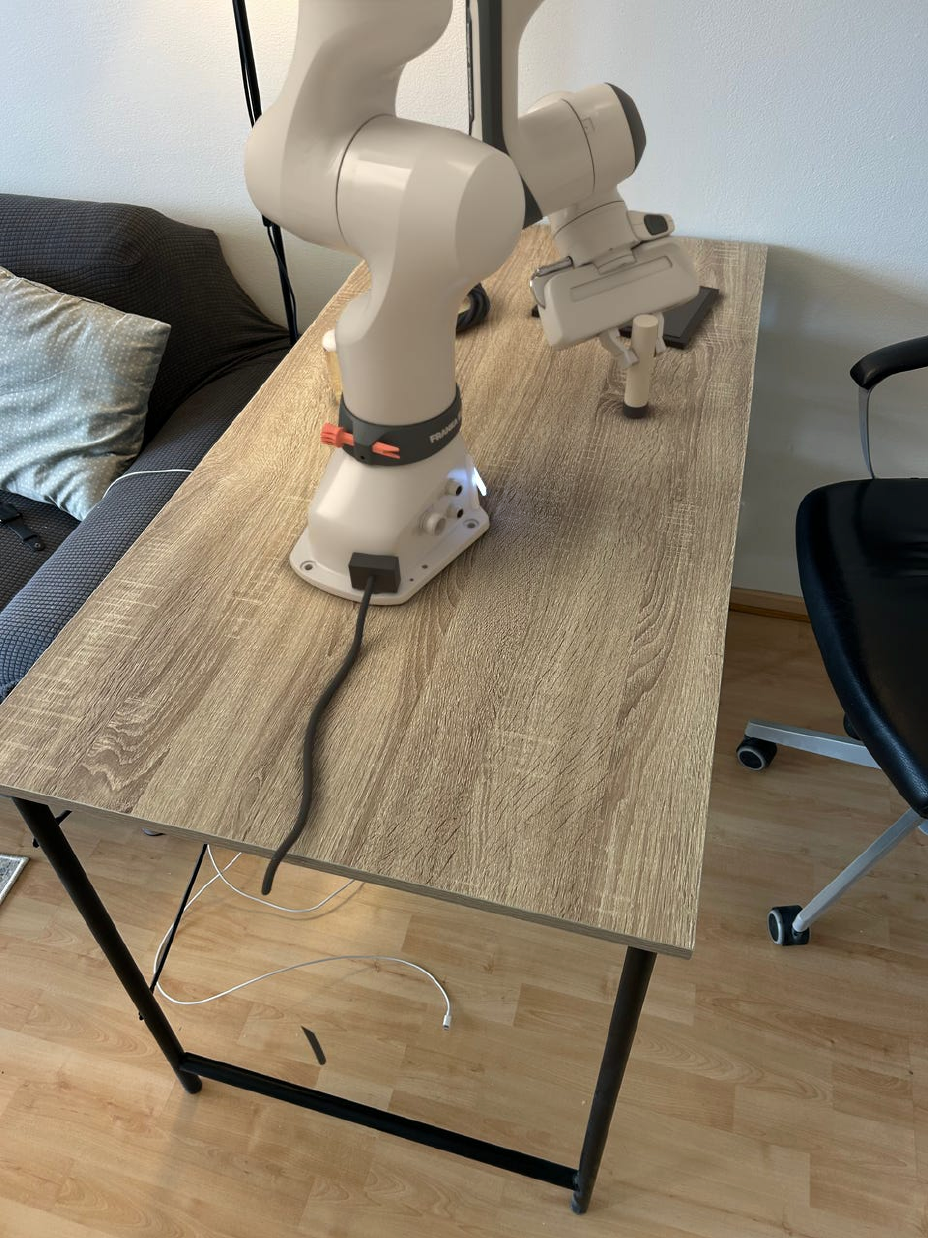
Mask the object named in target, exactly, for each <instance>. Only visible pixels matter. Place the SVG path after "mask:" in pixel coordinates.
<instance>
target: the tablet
mask: <svg viewBox="0 0 928 1238" xmlns="http://www.w3.org/2000/svg"><path fill="white" fill-rule="evenodd" d="M719 295H720V288H714V287H709V286H704V285H700V288H699V293H698V295H697V296H696V297H695V298H693V299H692V300H690V301H689V302H687V303H685V304H683V305H681V306H678V307H676V308H673V309H671V310H668V311H665V312H663V313H662V315H663V318H664V328H663V336H662V338H663V341H664V344H665V346H666V347H669V348H673V349H678V350H685V348H686V347H687V345H688V344H689V342H690V340H691V339H692V337H693V336H694V335H695V333H696V331H697V330H698V328H699V327H700V325H701V323H702V322H703V321H704V319H705V318H706V316H707V314H708V313H709V311H710V309H711V308H712V306H713V305H714V304H715V301H716V300H717V299H718V297H719ZM531 316H532V317H535V318H539V319H541V318H540V314H539V310H538V305H537V303H535V305H534V306H533V307H532V308H531ZM632 327H633V324H631V325H628V326H625V327H623V328H620V329H618V331H619V333H620V336H619V337H624V338H628V339H629V338H630V339H631V336H632Z"/></svg>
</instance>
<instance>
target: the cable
mask: <svg viewBox="0 0 928 1238" xmlns="http://www.w3.org/2000/svg"><path fill="white" fill-rule="evenodd" d="M466 298H468V299H469V302H470V304H469V305H470V306H469V308H468V309H465V310H464V311H461V312H459V314H458V318H457V323H456V332H458V331H460V330H464V329H467V328H469V327H471V326H473V325H475V324H477V323H480V322H483V320H485V319H486V317H487V316H488V315H489V312H490V310H491V301H490V297H489V296H488V293H487V292H486V289H485V288H484V287H483V285H482V281H481V282H480V283H478V284H477V285H476V286H474V287H473V288H472V289H471V290H470V292H469V293H468V294H467V296H466Z"/></svg>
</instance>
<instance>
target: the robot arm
mask: <svg viewBox="0 0 928 1238" xmlns="http://www.w3.org/2000/svg"><path fill="white" fill-rule="evenodd" d="M464 1H465V3H464V5H465V43H466V44H465V45H466V72H467V75H466V77H467V101H468V102H467V103H468V107H467V108H468V133H465V132H464V131H462V130H459V129H455V128H449V127H445V126H441V125H436V124H431V123H427V122H423V121H417V120H413V119H408V118H404V117H398V115H397V110H396V104H397V96H398V95H397V94H398V89H399V85H400V84H399V83H400V80H401V78H402V74H403V72H404V70H405V68H406V66H407V64H408V63H409V62H412V61H413V60H415V59H417V58H418V57H421V56H422V55H423V54H425V53H427V52H428V51H429V50H430V49H431V48H433V47H434V46H435V45H436V44H437V42H438V41H439V40H440V39H441V38H442V37H443V36H444V33H445V32H446V30H447V28H448V25H449V24H450V21H451V17H452V15H453V10H454V0H298V15H297V27H296V36H295V41H294V47H293V52H292V55H291V60H290V64H289V68H288V71H287V74H286V78H285V80H284V83H283V85H282V87H281V90H280V92H279V93H278V95H277V97H276V99H275V100H274V101H273V103H272V104H271V105H270V106H268V108H267V109H266V110H265V111H264V112H263V113H262V114H261V115H260V116H259V117H258V118H257V120H256V121H255V123H254V125H253V126H252V129H251V130H250V133H249V135H248V138H247V142H246V144H245V148H244V157H243V158H244V159H243V174H244V179H245V185H246V188H247V192H248V195H249V197H250V199H251V201H252V203H253V205H254V206H255V208H256V209H257V211H258V212H259V213H260V214H261V215H262V216H263V217H265V218H266V219H268V220H269V221H271V222H272V223H274V224H275V225H276V226H278V227H280V228H281V229H283V230H285V231H286V232H288V233H290V234H292V235H294V236H295V237H297V238H299V239H300V240H302V241H304V242H307V243H310V244H314V245H316V246H320V247H324V248H326V249H331V250H334V251H336V252H340V253H344V254H347V255H351V256H354V257H358V258H359V259H361V260H363V261H364V263H365V264H366V266H367V268H368V271H369V273H370V288H369V289H367V290H365V291H362V292H361V293H360V294H358V295H356V296H355V297H354V298H352V299H351V300H350V301H349V302H348V303H347V304H346V305H345V307H344V308H343V310H342V311H341V313H340V315H339V316H338V318H337V321H336V324H335V328H334V329H335V343H336V350H337V356H338V363H339V369H340V376H341V383H342V389H343V391H342V394H341V399H340V404H339V407H338V410H337V416H338V421H337V425H335V424H333V423H329V422H327V423H325V424H324V425H323V426H322V428H321V431H320V435H319V436H320V442H321V443H323V444H324V445H329V446H334V447H335V448H334V449H333V452H332V454H331V456H330V458H329V460H328V463H327V464H326V467H325V469H324V471H323V474H322V476H321V479H320V481H319V483H318V485H317V487H316V491H315V493H314V495H313V497H312V499H311V502H310V504H309V507H308V510H307V525H306V526H305V528H304V529H303V531H302V533H301V535H300V537H299V538H298V540H297V542H296V543H295V545H294V546H293V548H292V549H291V552H290V554H289V556H288V559H289V565H290V566H291V567H290V568H291V569H292V570H293V571H294V573H295V574H297V575H298V577H300V578H301V579H302V580H303V581H305V582H306V583H308V584H309V585H311V586H313V587H315V588H316V589H319V590H322V591H323V592H325V593H329V594H331V595H334V596H336V597H340V598H343V599H345V600H349V601H352V602H356V603H360V604H359V605H360V606H359V609H358V613H357V617H356V623H355V631H354V637H353V641H352V644H351V647H350V649H349V652H348V654H347V656H346V659H345V661H344V662H343V664H342V666H341V667H340V669H339V671H338V672H337V674H336V675H335V677H334V678H333V679H332V680H331V681H330V683H329V685H328V686H327V688H326V689H325V690H324V691H323V692H322V695H321V696H320V698H319V699H318V701H317V703H316V704H315V706H314V709H313V710H312V713H311V715H310V718H309V721H308V723H307V726H306V730H305V735H304V740H303V752H302V753H303V754H302V770H303V771H302V773H303V775H302V777H303V779H302V780H303V781H302V782H303V783H302V794H301V795H302V796H301V802H300V807H299V811H298V813H297V814H298V815H297V817H296V821H295V823H294V824H293V827H292V828H291V831H290V832H289V834H288V835H287V836H286V837H285V839H284V840H283V842H281V844H280V845H279V847H278V848H277V849H276V851H275V852H274V854H273V855H272V857H271V859H270V861H269V863H268V864H267V867H266V869H265V872H264V875H263V880H262V884H261V889H260V892H261V895H262V896H268V895H269V894H270V892H271V891H272V889H273V883H274V880H275V876H276V873H277V871H278V868H279V866H280V864H281V862H282V861H283V859H284V858H285V857H286V855H287V853H288V852H289V851H290V850H291V848H292V847H293V846H294V844H295V843H296V842H297V840H298V839H299V837H300V835H301V834H302V832H303V830H304V828H305V826H306V823H307V820H308V818H309V813H310V809H311V805H312V797H313V785H314V783H313V781H314V780H313V779H314V778H313V775H314V774H313V773H314V772H313V747H314V739H315V734H316V730H317V727H318V724H319V720H320V718H321V715H322V714H323V711H324V710H325V707H326V705H328V702H329V701H330V699H331V698H332V696H333V695H334V693H335V692H336V690H337V689H338V687H339V686H340V685H341V683H342V682H343V681H344V679H345V678H346V677H347V675H348V673H349V671H350V670H351V668H352V667H353V664H354V663H355V660H356V658H357V656H358V653H359V651H360V648H361V645H362V641H363V637H364V631H365V622H366V618H367V614H368V609H369V606H370V605H373V606H374V605H375V606H393V605H395V606H396V605H401V604H404V603H405V602H407V601H409V600H410V599H411V598H412V597H413V596H415V595H416V594H417V593H418V592H419V591H420V590H422V588H423V587H424V586H425V585H427V584H428V583H429V582H431V580H432V579H433V578H435V577H436V576H437V575H438V574H439V573H440V572H441V571H442V570H444V569H445V568H446V567H447V566H448V565H450V563H451V562H453V561H454V560H455V559H456V558H457V557H458V556H460V555H461V554H462V553H463V552H464V551H465V550H466V549H467V548H469V547H470V546H471V545H472V544H473V543H474V542H475V541H477V540H478V539H479V538H480V537H481V536H482V535H483V534H484V533H486V532H487V531H488V530H489V528H490V525H491V524H490V518H489V515H488V514H487V512H486V511H485V509H484V508H483V507H482V506H481V505H480V500H479V492H478V491H480V492H481V494H482V496H486V495H487V487H486V486H485V484H484V482H483V480H482V478H481V477H480V475H479V473H478V470H477V469H476V468H475V462H474V458H473V455H472V453H471V451H470V449H469V447H468V445H467V444H466V443H467V442H466V441H465V438H464V435H463V433H462V430H461V428H462V425H463V409H464V408H463V398H462V397H461V389H460V386H459V383H458V382H457V381H456V336H457V335H456V332H457V331H456V323H457V318H458V314H459V313H460V310H461V307H462V305H463V303H464V301H465V299H466V298H467V294H468V293H469V292H470V290H471V289H472V288H473V287H474V286H476V285H477V284H478V283H480V282H481V283H482V282H483V281H485V280H487V279H489V278H490V277H492V276H493V275H495V274H496V273H497V272H498V271H499V270H500V269H501V268H502V267H503V266H504V265H505V264H506V263H507V262H508V260H509V259H510V257H511V255H512V254H513V252H515V249H516V247H517V245H518V243H519V241H520V238H521V235H522V232H523V230H525V229H527V228H530V227H532V226H533V225H535V224H536V223H538V222H540V221H542V220H544V218H546V217H547V220H548V222H549V225H550V233H551V238H552V241H553V243H554V245H555V246H554V247H555V248H556V251H557V253H558V256H559V259H558V260H556V261H553V262H552V263H549V264H542V265H541V266H538V267H536V268H535V269H534V272H533V273H532V275H531V276H530V278H529V283H528V286H529V291H530V293H531V296H532V298H533V300H534V302H535V304H537V305H538V310H539V314H540V318H539V319H540V322H541V325H542V328H543V329H542V330H543V332H544V335H545V338H546V340H547V343H548V345H549V347H551V348H553V349H554V350H556V351H557V352H561V351H564V350H567V349H570V348H572V347H575V346H577V345H580V344H583V343H586V342H589V341H591V340H594V339H597V338H598V341H599V342H600V345H601V347H602V348H603V349H605V350H606V351H608V353H610V354H611V355H612V356H613V357H615V358H616V361H617V363H618V365H619V368H620V369H621V370H622V371H625V370H628V368H630V367H632V366H634V365H636V364H638V357H637V356H636V352H635V350H634V348H632V349H630V348H629V349H628V348H627V346H625V344H623V343H622V341H620V339H618V338H620V337H621V336H620V333H619V331H618V329H620V328H623V327H625V326H628V325H631V324H633V320H634V318H635V317H636V316H639V315H652V316H654V317H656V318H657V319H658V321H659V323H658V330H657V337H656V345H655V352H654V359H655V358H657V357H660V356H663V355H664V354H665V353H667V346H665V344H664V341H663V338H662V336H663V328H664V318H663V315H662V313H663V312H665V311H668V310H671V309H673V308H676V307H678V306H681V305H683V304H685V303H687V302H689V301H690V300H692V299H693V298H695V297H696V296H697V295H698V293H699V288H700V286H701V281H700V279H699V275H698V272H697V270H696V267H695V265H694V263H693V261H692V259H691V255H690V254H689V252H688V250H687V248H686V246H685V245H684V243H683V242H682V240H681V239H679V238H678V237H677V236H675V235H671V234H672V233H673V232H675V229H676V225H675V221H674V220H673V217H672V216H671V215H670V214H668V213H665V212H663V213H662V212H647V211H640V210H633V209H629V208H628V205H627V204H626V201H625V199H624V198H623V197H622V196H621V194H620V192H619V191H618V185H619V184H621V183H622V182H624V181H625V180H627V179H629V178H630V177H631V176H632V175H633V174H634V173H635V172H636V170H637V169H638V166H639V164H640V162H641V160H642V158H643V155H644V152H645V149H646V146H647V135H646V130H645V127H644V123H643V120H642V117H641V115H640V112H639V110H638V107H637V105H636V103H635V101H634V99H633V97H631V96H630V95H629V94H628V93H627V92H626V91H624V90H623V89H622V88H620V87H618V86H617V85H614V84H613V83H610V82H604V83H598V84H595V85H591V86H588V87H586V88H583V89H580V90H578V91H576V92H571V91H567V90H560V91H555V92H551V93H549V94H546V95H544V96H542V97H541V98H539V99H538V100H536V101H535V102H534V103H533V104H531V105H530V106H529V108H527V110H525V112H524V113H523V114H522V115H520V116H519V50H520V45H521V40H522V37H523V35H524V32H525V30H526V27H528V24H529V23H530V20H531V19H532V18H533V16H534V14H535V13H536V12H537V10H538V9H539V8H540V7H541V6H542V5H543V3H544V2H545V0H464ZM478 489H479V490H478ZM273 858H275V859H273ZM300 1028H301V1029H302V1032H303V1033H304V1035H305V1037H306V1039H307V1040H308V1042H309V1044H310V1047H311V1048H312V1050H313V1052H314V1055H315V1058H316V1059H317V1062H318V1064H319V1065H320V1066H324V1065H326V1063H327V1058H326V1057H325V1056H326V1055H325V1053H324V1051H323V1049H322V1046H321V1044H320V1042H319V1040H318V1038H317V1036H316V1033H315V1032H313V1031H311V1030H309V1029H308V1028H306V1027H305V1026H302V1025H300Z"/></svg>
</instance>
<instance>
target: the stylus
mask: <svg viewBox="0 0 928 1238" xmlns="http://www.w3.org/2000/svg"><path fill="white" fill-rule="evenodd" d="M658 323H659V321H658V319H657V318H656V317H654V316H652V315H639V316H636V317H635V318H634V320H633V327H632V336H631V338H630V346H629V349H632V348H634V350H635V352H636V356H637V357H638V364H636V365H634V366H632V367H630V368H627V370H626V380H625V387H624V388H625V389H624V397H623V400H622V409H621V412H622V414H623V415H624V416H625V417H627V418H630V419H634V420H635V419H643V418H644V417H645V416H646V415H647V414H648V409H649V394H650V388H651V380H652V373H653V366H654V359H655V358H654V352H655V345H656V337H657V330H658Z"/></svg>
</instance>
